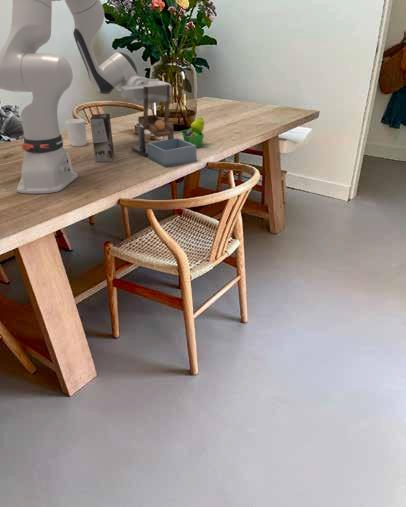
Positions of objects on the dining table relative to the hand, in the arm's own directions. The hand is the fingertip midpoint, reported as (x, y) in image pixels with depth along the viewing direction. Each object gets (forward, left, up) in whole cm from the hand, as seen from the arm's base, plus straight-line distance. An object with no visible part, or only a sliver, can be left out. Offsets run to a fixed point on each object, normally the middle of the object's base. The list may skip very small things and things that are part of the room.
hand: (155, 93), depth 160 cm
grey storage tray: (-9, -6, -23) cm, 25 cm away
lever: (+1, +1, -13) cm, 13 cm away
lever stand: (+3, +2, -23) cm, 23 cm away
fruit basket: (+12, -14, -23) cm, 30 cm away
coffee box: (-6, +21, -23) cm, 32 cm away
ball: (-2, -1, -12) cm, 12 cm away
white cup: (+15, +36, -23) cm, 45 cm away
